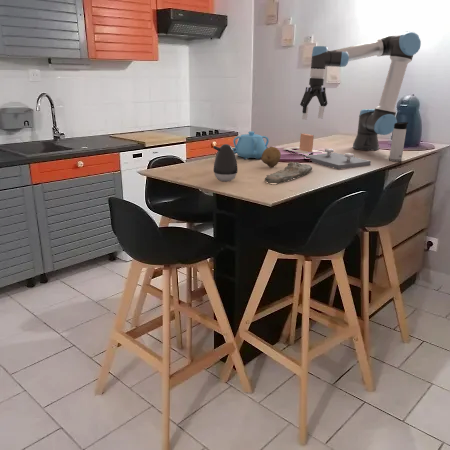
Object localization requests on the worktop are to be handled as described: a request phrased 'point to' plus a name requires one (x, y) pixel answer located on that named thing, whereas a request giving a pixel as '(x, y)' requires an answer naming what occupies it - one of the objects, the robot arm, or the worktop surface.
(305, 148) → the keyhole plate
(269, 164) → the brown round lump
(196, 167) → the worktop surface
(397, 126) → the travel mug
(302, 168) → the long grey stone
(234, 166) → the pump dispenser
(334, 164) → the boss board
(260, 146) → the decorative pot
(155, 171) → the worktop surface
